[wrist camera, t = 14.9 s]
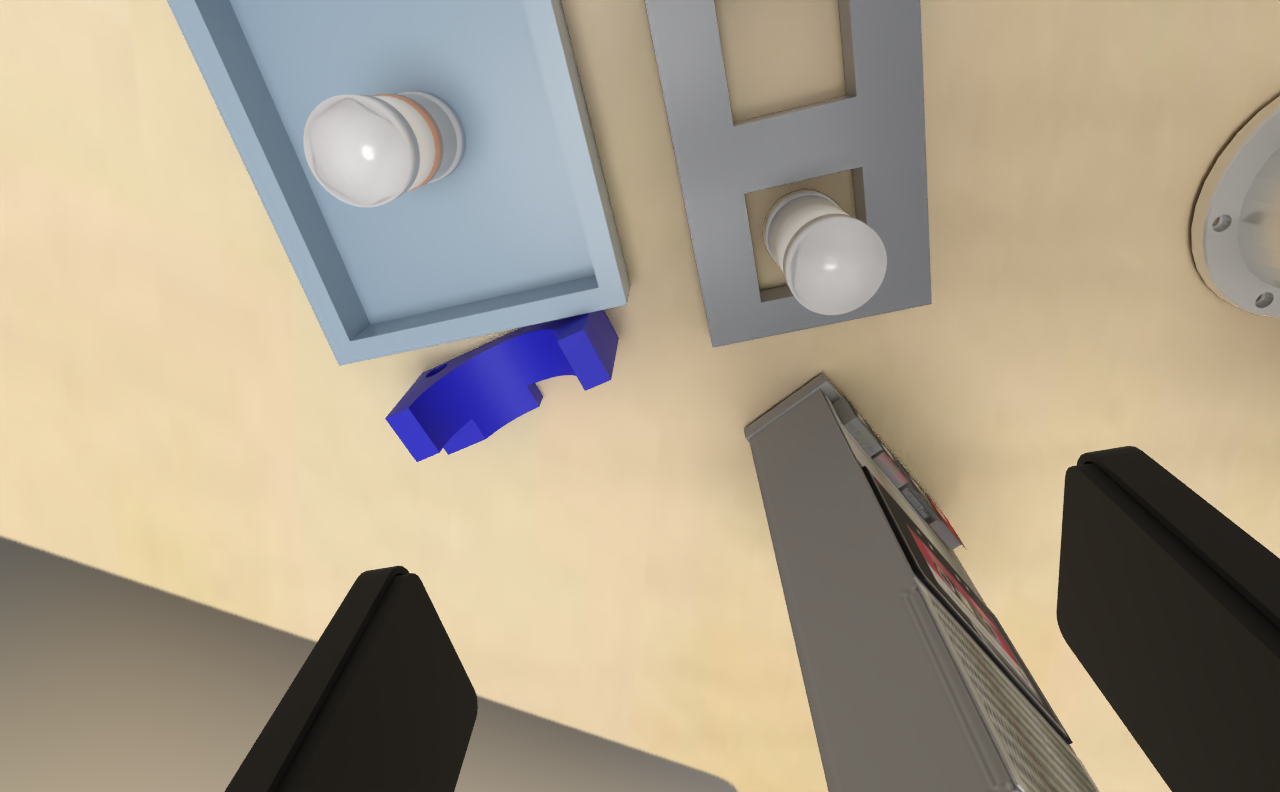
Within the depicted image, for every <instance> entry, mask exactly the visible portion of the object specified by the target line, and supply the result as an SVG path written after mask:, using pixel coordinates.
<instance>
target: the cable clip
mask: <svg viewBox="0 0 1280 792" xmlns="http://www.w3.org/2000/svg"><path fill="white" fill-rule="evenodd" d="M618 339H619V338H618V336H617V334H616V332H615V330H614V328H613V327H612V325H611V323H610V321H609V319H608V317H607V315H606V313H605V311H604V310H600V311H595V312H590V313H585V314H581V315H576V316H571V317H567V318H562V319H557V320H552V321H548V322H543V323H538V324H534V325H529V326H524V327H522V328H520V329H518V330H515V331H513V332H511V333H509V334H507V335H505V336H502V337H500V338H498V339H496V340H494V341H492V342H489V343H487V344H485V345H483V346H481V347H479V348H476V349H474V350H472V351H470V352H468V353H465V354H463V355H461V356H459V357H457V358H455V359H452V360H450V361H448V362H446V363H444V364H442V365H439V366H437V367H435V368H433V369H431V370H429V371H426V372H424V373H422V374H421V376H420V377H419V378H418V379H417V381H416V382H415V383H414V384H413V385H412V387H411V388H410V389H409V390H408V391H407V393H406V394H405V395H404V396H403V397H402V399H401V400H400V401H399V402H398V404H397V405H396V406H395V407H394V408H393V410H392V411H391V412H390V413H389V414H388V416H387V417H386V418H385V419H386V420H387V422H388V423H389V424H390V426H391V427H392V428H393V430H394V431H395V433H396V434H397V435H398V437H399V438H400V439H401V441H402V442H403V444H404V445H405V446H406V448H407V449H408V450H409V452H410V453H411V455H412V456H413V457H414V459H415V460H416V461H417V462H418V461H421V460H423V459H426V458H428V457H430V456H433V455H435V454H437V453H440V451H441V450H442V448H444V449H445V451H446V452H447V454H448V455H449V454H451V453H454V452H456V451H459V450H461V449H463V448H466V447H468V446H470V445H473V444H475V443H478V442H480V441H482V440H485V439H486V438H488V437H489V436H490V435H492V434H493V433H494V432H496V431H497V430H498V429H500V428H501V427H503V426H504V425H506V424H507V423H509V422H511V421H512V420H514V419H516V418H517V417H519V416H521V415H523V414H525V413H527V412H529V411H531V410H533V409H535V408H537V407H539V406H540V403H541V401H542V398H543V396H542V394H541V393H540V391H539V389H538V388H537V386H536V384H535V383H536V382H538V381H541V380H544V379H548V378H551V377H556V376H561V375H575V376H577V377H578V379H579V381H580V383H581V384H582V386H583V388H584V390H585V391H586V390H588V389H590V388H593V387H595V386H597V385H600V384H602V383H605V382H607V381H609V380H611V377H612V372H613V366H614V361H615V355H616V350H617V344H618Z"/></svg>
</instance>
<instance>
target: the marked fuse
mask: <svg viewBox="0 0 1280 792" xmlns="http://www.w3.org/2000/svg"><path fill="white" fill-rule="evenodd" d="M303 144H304V152H305V156H306V159H307V162H308V165H309V167H310V169H311V171H312V173H313V175H314V176H315V178H316V179H317V180H318V182H319V183H320V184H321V185H322V186H323V187H324V188H325V189H326V190H327V191H328V192H329V193H330V194H331V195H333V196H334V197H336V198H337V199H339V200H341V201H343V202H345V203H347V204H350V205H353V206H357V207H376V206H380V205H383V204H385V203H388V202H390V201H392V200H394V199H396V198H398V197H400V196H402V195H403V194H404V193H406V192H408V191H411V190H414V189H416V188H419V187H421V186H423V185H425V184H426V183H431V182H435V181H437V180H440V179H442V178H444V177H446V176H448V175H450V174H451V173H453V172H454V171H455V170H456V169H457V167H458V166H459V165H460V163H461V161H462V159H463V156H464V153H465V147H466V137H465V131H464V127H463V125H462V122H461V120H460V118H459V116H458V115H457V113H456V112H455V110H454V109H453V108H452V107H451V106H450V105H449V104H448V103H447V102H446V101H444V100H443V99H442V98H440V97H438V96H436V95H434V94H431V93H428V92H422V91H414V92H403V93H399V94H379V95H373V96H370V95H364V94H353V95H339V96H334V97H331V98H328V99H326V100H324V101H323V102H321V103H320V104H319V105H318V106H316V108H315V109H314V110H313V111H312V112H311V114H310V116H309V117H308V120H307V122H306V125H305V129H304V136H303Z"/></svg>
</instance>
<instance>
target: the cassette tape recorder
mask: <svg viewBox="0 0 1280 792" xmlns="http://www.w3.org/2000/svg"><path fill="white" fill-rule="evenodd" d="M744 432H745V437H746V439H747V440H748V441H749V442H750V446H751V450H752V455H753V459H754V464H755V468H756V472H757V477H758V481H759V486H760V490H761V494H762V499H763V503H764V508H765V512H766V517H767V521H768V525H769V530H770V534H771V539H772V543H773V548H774V552H775V556H776V561H777V565H778V570H779V574H780V579H781V583H782V587H783V592H784V596H785V601H786V605H787V610H788V614H789V618H790V623H791V627H792V632H793V636H794V640H795V645H796V649H797V654H798V658H799V663H800V667H801V671H802V676H803V680H804V685H805V689H806V694H807V698H808V702H809V707H810V711H811V716H812V720H813V725H814V729H815V733H816V738H817V742H818V747H819V751H820V755H821V760H822V764H823V769H824V773H825V778H826V782H827V786H828V791H829V792H1099V790H1098V788H1097V787H1096V785H1095V783H1094V782H1093V780H1092V778H1091V777H1090V775H1089V774H1088V772H1087V770H1086V769H1085V767H1084V765H1083V764H1082V762H1081V761H1080V760H1079V758H1078V757H1077V756H1076V754H1075V752H1074V751H1073V749H1072V748H1071V746H1070V744H1071V743H1073V742H1072V741H1071V739H1070V737H1069V736H1068V734H1067V733H1066V731H1065V729H1064V728H1063V726H1062V724H1061V723H1060V721H1059V719H1058V718H1057V716H1056V715H1055V713H1054V711H1053V710H1052V708H1051V706H1050V705H1049V703H1048V701H1047V700H1046V698H1045V697H1044V695H1043V693H1042V692H1041V690H1040V688H1039V687H1038V685H1037V683H1036V682H1035V680H1034V678H1033V677H1032V675H1031V674H1030V672H1029V670H1028V669H1027V667H1026V665H1025V664H1024V662H1023V660H1022V659H1021V657H1020V656H1019V654H1018V652H1017V651H1016V649H1015V647H1014V646H1013V644H1012V642H1011V641H1010V639H1009V638H1008V636H1007V634H1006V633H1005V631H1004V629H1003V628H1002V626H1001V624H1000V623H999V621H998V620H997V618H996V616H995V615H994V614H993V613H992V612H991V611H990V609H989V608H988V607H987V606H986V604H985V602H984V601H983V599H982V598H981V596H980V594H979V593H978V591H977V589H976V588H975V586H974V584H973V583H972V581H971V579H970V578H969V576H968V574H967V573H966V571H965V569H964V568H963V566H962V564H961V563H960V561H959V560H958V558H957V556H956V555H955V553H954V551H953V550H952V549H954V548H956V547H958V546H959V545H961V544H962V545H963V543H962V542H961V540H960V539H959V537H958V535H957V534H956V532H955V531H954V529H953V528H952V526H951V524H950V523H949V521H948V520H947V518H946V517H945V516H944V515H943V513H942V512H941V511H940V510H939V509H938V507H937V506H936V505H935V504H934V503H933V501H932V500H931V499H930V498H929V497H928V495H927V494H926V493H925V494H924V492H923V490H922V489H921V488H920V487H919V485H918V484H917V483H916V482H915V481H914V479H913V478H912V477H911V476H910V475H909V473H908V472H907V471H906V470H905V469H904V467H903V466H902V465H901V464H900V463H899V461H898V460H896V459H895V457H894V456H893V455H892V454H891V453H890V451H889V450H888V449H887V448H886V447H885V445H884V444H883V443H882V442H881V441H880V440H879V438H878V437H877V436H876V435H875V434H874V432H873V431H872V429H871V428H870V426H869V425H868V424H867V422H866V421H865V420H864V419H863V418H862V416H861V415H860V414H859V413H858V412H857V410H856V409H855V408H854V407H853V406H852V404H851V403H850V402H849V401H848V400H847V398H846V397H845V396H843V397H842V396H841V394H840V393H839V392H838V391H837V390H836V388H835V387H834V386H833V385H832V384H831V382H830V381H829V380H828V379H827V378H826V377H825V375H824V374H823V373H822V374H820V375H819V376H817V377H816V378H815V379H813V380H812V381H810V382H809V383H808V384H806V385H805V386H803V387H802V388H801V389H799V390H798V391H796V392H795V393H794V394H792V395H791V396H789V397H788V398H787V399H785V400H784V401H782V402H781V403H780V404H778V405H777V406H775V407H774V408H773V409H771V410H770V411H768V412H767V413H766V414H764V415H763V416H761V417H760V418H759V419H757V420H756V421H754V422H753V423H752V424H750V425H749V426H747V427H746V428H745V429H744ZM963 546H964V545H963ZM964 548H965V546H964ZM965 549H966V548H965Z"/></svg>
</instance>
